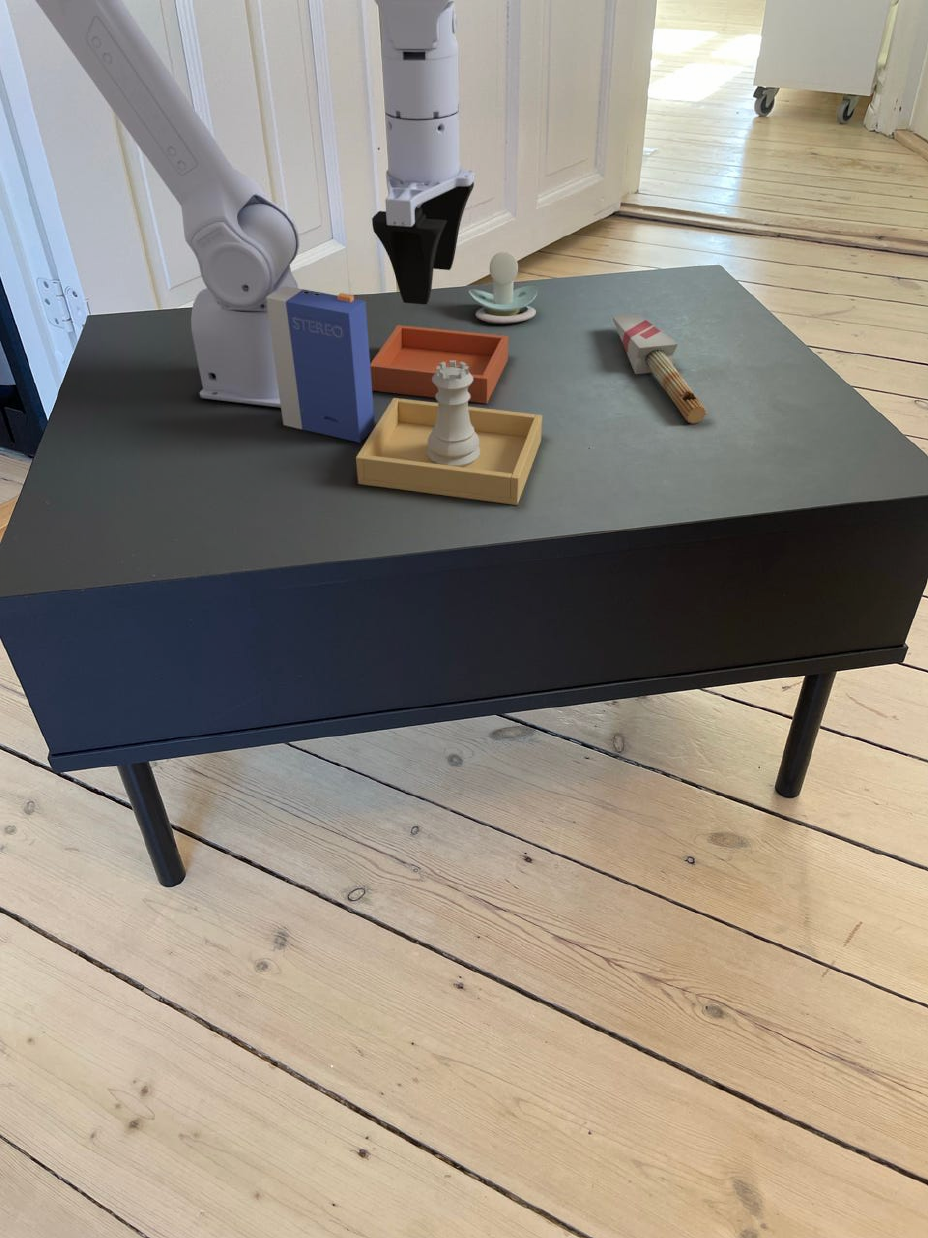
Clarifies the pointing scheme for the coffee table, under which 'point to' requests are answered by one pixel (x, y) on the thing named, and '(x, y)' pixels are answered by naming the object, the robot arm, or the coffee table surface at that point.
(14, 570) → the coffee table surface
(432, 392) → the terracotta tray
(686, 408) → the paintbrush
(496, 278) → the pacifier
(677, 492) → the coffee table surface
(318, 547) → the coffee table surface
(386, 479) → the birch tray
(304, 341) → the walkman
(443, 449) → the rook chess piece
